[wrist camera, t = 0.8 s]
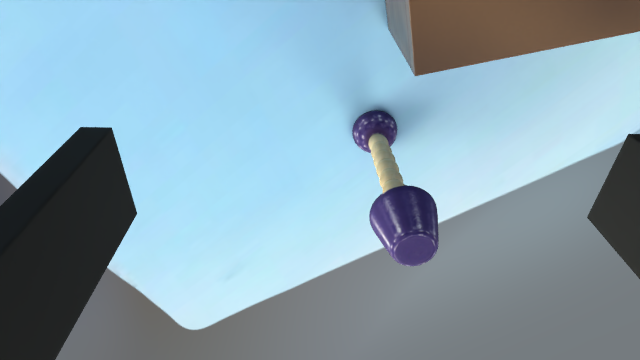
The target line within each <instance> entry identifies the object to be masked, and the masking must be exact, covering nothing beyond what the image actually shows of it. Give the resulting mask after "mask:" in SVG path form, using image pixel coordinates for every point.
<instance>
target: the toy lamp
mask: <svg viewBox="0 0 640 360" xmlns="http://www.w3.org/2000/svg"><path fill="white" fill-rule="evenodd" d="M396 135H397V125H396V122H395V120H394V119H393V117H391V115H389V114H388V113H386V112H383V111H370V112H367V113H365V114H363V115H362V116H360V117H359V118H358V119H357V120H356V122H355V124H354V126H353V138H354V141H355V143H356V144H357V145H358V146H359V147H360V148H361V149H362V150H364V151H366V152H369V153H371V155H372V157H373V159H374V165H375V167H376V171H377V175H378V177H379V178H380V185H381V187H382V188H383V194H381V195H380V196H379V197H378V198H377V199H376V200H375V201H374V203H373V205H372V207H371V210H370V215H369V217H370V223H371V226H372V228H373V230H374V232H375V233H376V235H377V236H378V238H379V239H380V241H381V242H382V244H383V245H384V247H385V248H386V249H387V251H388V252H389V254H390V255H391V256H392V257H393V259H394V260H395V261H397V262H398V263H400V264H402V265H405V266H417V265H421V264H423V263H426V262H428V261H429V260H430V259H431V258H432V257H433V256H434V255H435V253H436V251H437V249H438V215H437V208H436V204H435V202H434V199H433V198H432V197H431V195H430V194H429V193H427V192H426V191H425V190H423V189H421V188H418V187H415V186H407V185H404V184H403V179H402V176H401V174H400V173H399V168H398V165H397V164H396V163H395V157H394V156H393V154H392V151H391V148H390V146H391V145H392V144H393V143H394V141H395V138H396Z"/></svg>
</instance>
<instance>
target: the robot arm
mask: <svg viewBox="0 0 640 360" xmlns="http://www.w3.org/2000/svg"><path fill="white" fill-rule="evenodd" d="M136 215H137V212H136V208H135V205H134V202H133V198H132V195H131V191H130V188H129V185H128V181H127V178H126V174H125V171H124V168H123V164H122V161H121V158H120V154H119V151H118V147H117V144H116V141H115V137H114V134H113V130H112V128H100V127H80V128H79V129H78V130H77V131H76V132H75V133H74V134H73V135H72V136H71V137H70V138H69V139H68V140H67V141H66V142H65V143H64V144H63V145H62V146H61V147H60V148H59V149H58V150H57V151H56V152H55V153H54V154H53V155H52V156H51V157H50V158H49V159H48V160H47V161H46V162H45V163H44V164H43V165H42V166H41V167H40V168H39V169H38V170H37V171H36V172H35V173H34V174H33V175H32V176H31V177H30V178H29V179H28V180H27V181H26V182H25V183H24V184H22V185H21V186H20V187H19V188H18V189H17V191H15V192H14V193H13V194H12V195H11V196H10V197H9V198H8V199H7V200H6V201H5V202H4V203H3V204H2V205H1V206H0V360H55V359H56V357H57V355H58V354H59V352H60V350H61V348H62V347H63V345H64V343H65V341H66V339H67V338H68V336H69V334H70V332H71V330H72V328H73V327H74V325H75V323H76V322H77V320H78V318H79V316H80V314H81V313H82V311H83V309H84V307H85V305H86V304H87V302H88V300H89V298H90V296H91V295H92V293H93V291H94V289H95V288H96V286H97V284H98V282H99V281H100V279H101V277H102V275H103V273H104V272H105V270H106V268H107V266H108V265H109V263H110V261H111V259H112V257H113V256H114V254H115V252H116V250H117V248H118V247H119V245H120V243H121V241H122V240H123V238H124V236H125V234H126V232H127V231H128V229H129V227H130V225H131V224H132V222H133V220H134V218H135V216H136ZM587 218H588V219H589V220H590V221H591V222H592V223H593V225H594V226H595V227H596V228H597V229H598V231H599V232H600V233H601V234H602V235H603V237H604V238H605V239H606V240H607V241H608V242H609V244H610V245H611V246H612V247H613V248H614V249H615V251H617V253H618V254H619V255H620V256H621V257H622V259H623V260H624V261H625V262H626V263H627V265H628V266H629V267H630V268H631V269H632V271H633V272H634V273H635V274H636V275H637V276H638V278H639V279H640V134H628V136H627V138H626V140H625V142H624V144H623V146H622V148H621V150H620V152H619V154H618V156H617V158H616V160H615V162H614V164H613V166H612V168H611V170H610V172H609V175H608V176H607V178H606V180H605V182H604V184H603V186H602V189H601V191H600V193H599V194H598V197H597V199H596V200H595V202H594V205H593V206H592V209H591V211H590V213H589V215H588V217H587Z"/></svg>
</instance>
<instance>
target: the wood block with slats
mask: <svg viewBox="0 0 640 360" xmlns="http://www.w3.org/2000/svg"><path fill="white" fill-rule="evenodd" d="M385 3H386V12H387V21H388V29H389V31H390V33H391V35H392V36H393V38H394V40H395V42H396V43H397V45H398V47H399V49H400V50H401V52H402V54H403V56H404V57H405V59H406V61H407V63H408V64H409V66H410V68H411V70H412V72H413V74H414V75H415V76H418V75H423V74H428V73H433V72H438V71H443V70H448V69H453V68H458V67H463V66H468V65H473V64H478V63H483V62H488V61H493V60H498V59H503V58H508V57H513V56H518V55H523V54H529V53H534V52H539V51H544V50H549V49H554V48H559V47H564V46H569V45H574V44H579V43H584V42H589V41H594V40H599V39H604V38H609V37H614V36H619V35H624V34H629V33H634V32H639V31H640V0H385Z"/></svg>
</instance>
